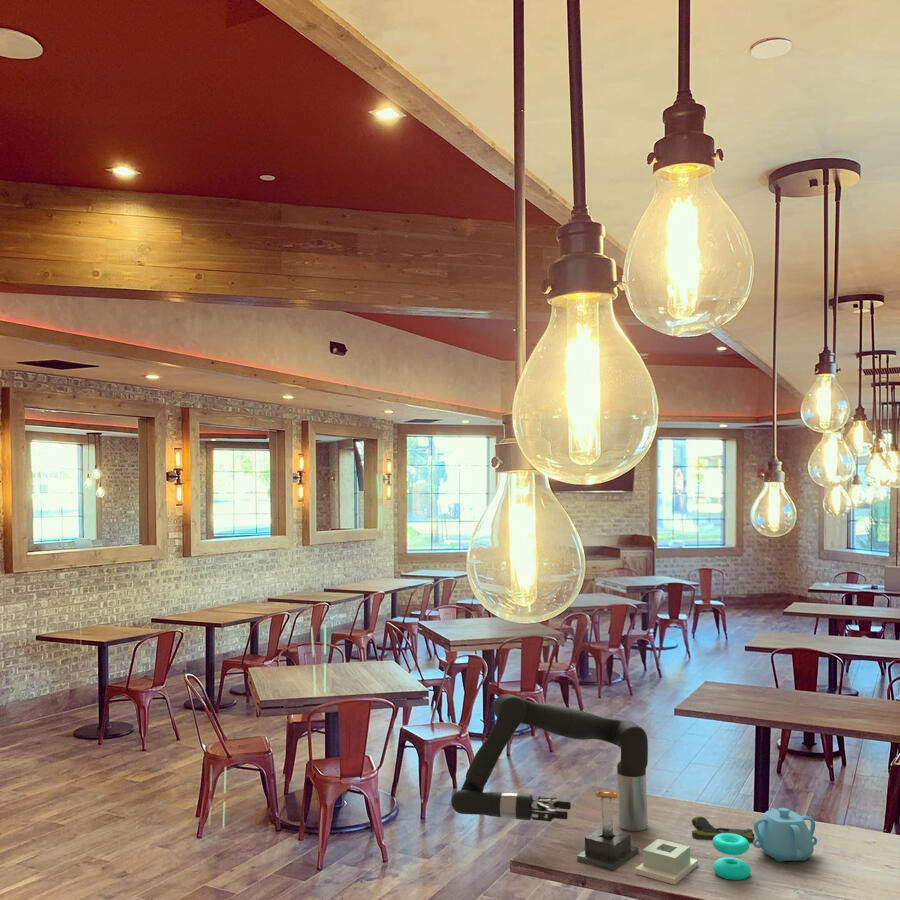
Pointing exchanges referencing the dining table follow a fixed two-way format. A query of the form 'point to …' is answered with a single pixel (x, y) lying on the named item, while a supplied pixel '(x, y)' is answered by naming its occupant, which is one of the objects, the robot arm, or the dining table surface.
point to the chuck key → (607, 813)
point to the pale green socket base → (666, 861)
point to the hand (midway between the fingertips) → (569, 810)
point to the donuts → (730, 865)
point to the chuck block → (607, 850)
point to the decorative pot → (785, 835)
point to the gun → (717, 830)
